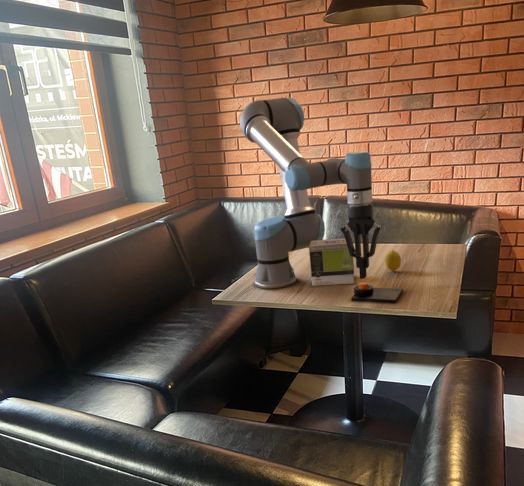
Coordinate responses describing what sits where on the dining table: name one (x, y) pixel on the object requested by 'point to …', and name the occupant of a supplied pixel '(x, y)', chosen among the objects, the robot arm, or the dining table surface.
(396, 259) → the lemon
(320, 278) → the tea box
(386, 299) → the scale
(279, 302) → the dining table surface
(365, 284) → the button
